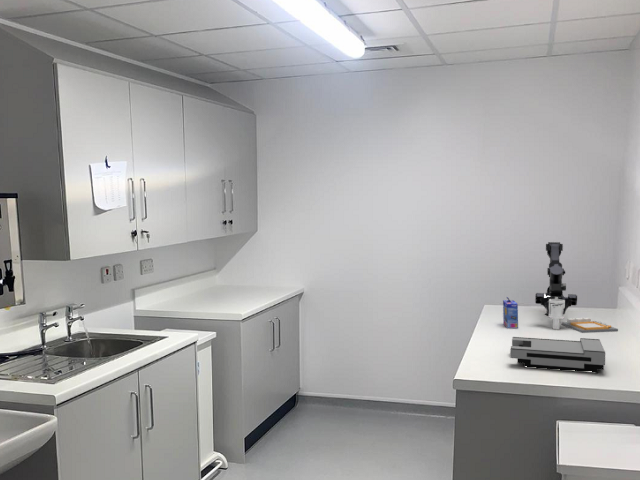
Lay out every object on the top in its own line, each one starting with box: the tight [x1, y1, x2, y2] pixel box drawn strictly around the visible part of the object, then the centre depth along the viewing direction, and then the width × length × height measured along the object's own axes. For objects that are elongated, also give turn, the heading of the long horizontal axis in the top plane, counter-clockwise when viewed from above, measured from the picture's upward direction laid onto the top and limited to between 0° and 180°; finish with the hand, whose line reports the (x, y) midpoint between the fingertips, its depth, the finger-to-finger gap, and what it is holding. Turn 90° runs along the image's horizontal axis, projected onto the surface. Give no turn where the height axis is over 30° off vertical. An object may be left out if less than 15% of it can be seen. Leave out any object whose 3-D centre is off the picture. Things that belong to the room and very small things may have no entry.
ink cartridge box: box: [502, 296, 519, 329], centre depth 286 cm, size 10×6×14 cm, turn 174°
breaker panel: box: [561, 317, 619, 334], centre depth 281 cm, size 18×18×3 cm
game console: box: [509, 336, 606, 372], centre depth 222 cm, size 21×32×8 cm, turn 70°
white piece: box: [547, 297, 565, 330], centre depth 280 cm, size 7×7×15 cm
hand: (556, 313), depth 278 cm, fingers open, 6 cm apart
